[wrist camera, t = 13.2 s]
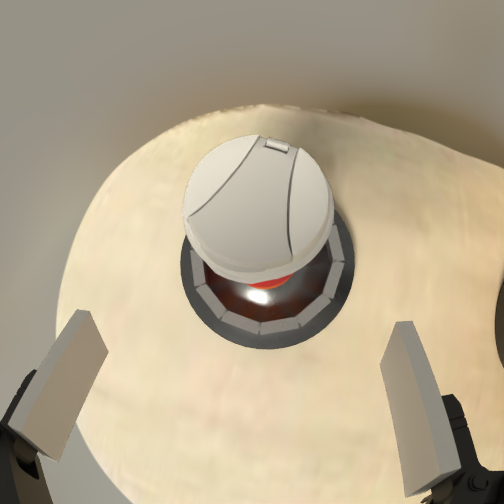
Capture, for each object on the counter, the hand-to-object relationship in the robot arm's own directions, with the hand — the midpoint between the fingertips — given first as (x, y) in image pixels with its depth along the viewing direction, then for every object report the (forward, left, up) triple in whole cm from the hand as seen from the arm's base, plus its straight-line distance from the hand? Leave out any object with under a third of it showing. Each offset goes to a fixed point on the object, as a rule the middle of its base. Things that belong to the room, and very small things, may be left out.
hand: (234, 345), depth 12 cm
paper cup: (+2, -7, -14) cm, 16 cm away
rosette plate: (+1, -7, -15) cm, 17 cm away
